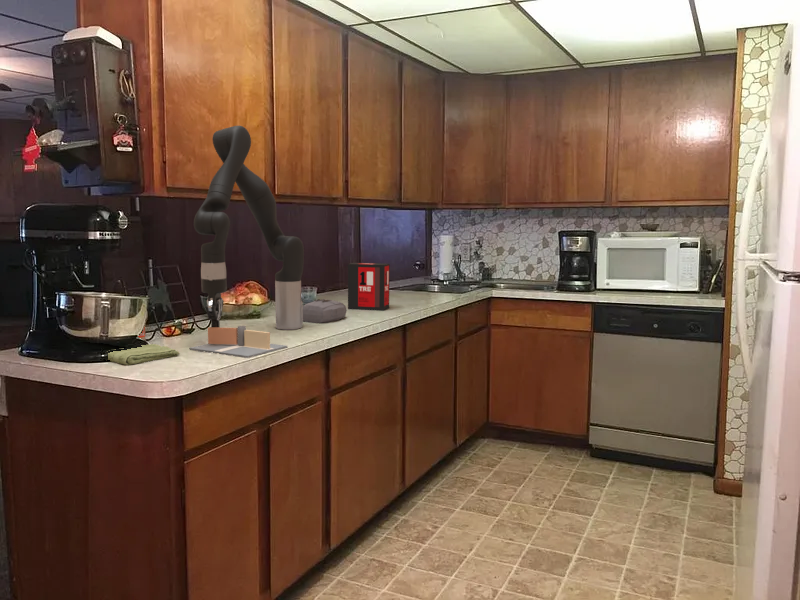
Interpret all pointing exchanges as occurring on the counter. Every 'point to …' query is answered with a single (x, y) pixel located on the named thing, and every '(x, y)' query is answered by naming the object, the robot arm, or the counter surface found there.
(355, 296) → the cleaning product box
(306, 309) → the soft grey pack
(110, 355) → the washcloth
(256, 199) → the robot arm
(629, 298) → the counter surface
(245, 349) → the slate board
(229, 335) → the salmon long narrow block
